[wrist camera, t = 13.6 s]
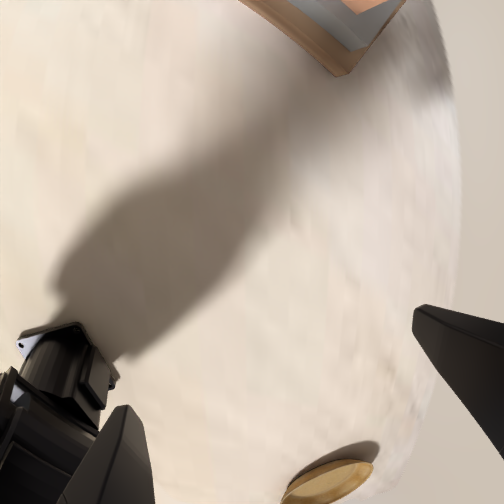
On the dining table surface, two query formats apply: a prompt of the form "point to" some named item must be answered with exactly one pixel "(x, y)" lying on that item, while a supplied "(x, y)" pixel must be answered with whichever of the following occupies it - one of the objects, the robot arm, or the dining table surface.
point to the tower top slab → (347, 20)
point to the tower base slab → (312, 34)
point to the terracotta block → (361, 4)
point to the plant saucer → (328, 482)
